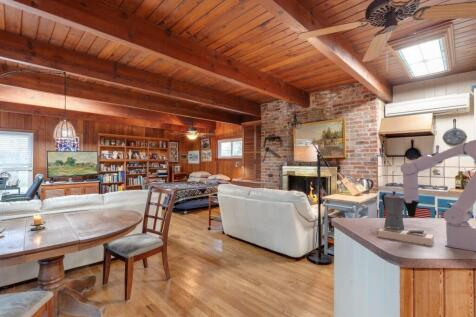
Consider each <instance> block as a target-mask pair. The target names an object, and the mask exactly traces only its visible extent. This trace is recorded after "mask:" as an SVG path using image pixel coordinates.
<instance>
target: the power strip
mask: <svg viewBox="0 0 476 317" xmlns="http://www.w3.org/2000/svg"><path fill="white" fill-rule="evenodd" d="M409 231H410V230H390V229H386V228H385V227H380V228H379V229H377V237H378V238H383V239H384V238H385V239H389V238H390V239H391V240H395V239H396V240H395V241H401V240H402V241H401V242H407V243H412V242H413V244H418V243H419V244H420V245H424V244H425V246H429V247H433V244H434V242H435V241H434V234H428V233H425V232H423V233H410V232H409Z"/></svg>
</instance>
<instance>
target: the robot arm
mask: <svg viewBox="0 0 476 317" xmlns="http://www.w3.org/2000/svg"><path fill="white" fill-rule="evenodd" d="M458 156H469V157H470V158H472V159H473V161H475V163H476V139H474V140H473V139H472V140H470V141H468V142H463V143H461V144H460V143H459V144H456V145H455V146H453V147H450V148H447V149H446V150H444V151H442V152H438V153H436V154H434V155H430V154H427V155H426V154H423V155H421V157H419V158H416V159H412V160H410V162H408V161H407V162H404V163H402V164H401V166H400V172H401V173H402V182H403V183H402V185H403V186H402V187H403V188H402V189H403V195H400V196H401V198H404V199H405V201H403V203H404V207H405V208H406V211H407V216H408V217H409V218H415V217H416V212H417V207H418V205H419V204H420V201H419V200H420V197H419V178H418V174H419V173H420V172H422V171H425V170H429V169H432V168H434V167H436V166H437V164H438V163H440V162H441V161H445V160H449V159H450V158H453V157H458ZM475 203H476V170H475V171H474V173H473V175H472V176H471V177H470V179H469V181H468V182H467V184H466V185H465V187H464V189H463V190H462V192H461V194H460V195H459V197H458V198H457V200H456V201H455V202H454V203H453V204H452V205H451V207H450V208H449V209H447V210H445V211H444V213H443V219H444V220H445V228H446V232H445V233H446V241H445V244H444V246H445V247H447V248H456V249H461V250H466V251H472V252H473V251H474V252H476V226H471V225H470V223H469V221H470V220H471V217H472V216H471V212H472V211H473V208H474V205H475Z"/></svg>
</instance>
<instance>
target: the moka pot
mask: <svg viewBox="0 0 476 317" xmlns="http://www.w3.org/2000/svg"><path fill="white" fill-rule="evenodd" d="M396 193H397V192H396V191H395V190H394V191H392V194H387V193H385V192H384V193H383V194H382V196H381V200H382V203H383V208H384V211H386V214H385V220H384V227H383V228H387V227H399V228H400V229H399V230H402V231H405V225H404V219H403V212H404V207H405V204H404V203H403V201H406V200H405V199H404V198H401V196H402V195H399V194H396Z"/></svg>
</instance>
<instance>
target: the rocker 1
mask: <svg viewBox="0 0 476 317" xmlns="http://www.w3.org/2000/svg"><path fill="white" fill-rule="evenodd" d="M386 229H390V230H399V229H400V228H399V227H387V228H386Z"/></svg>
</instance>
